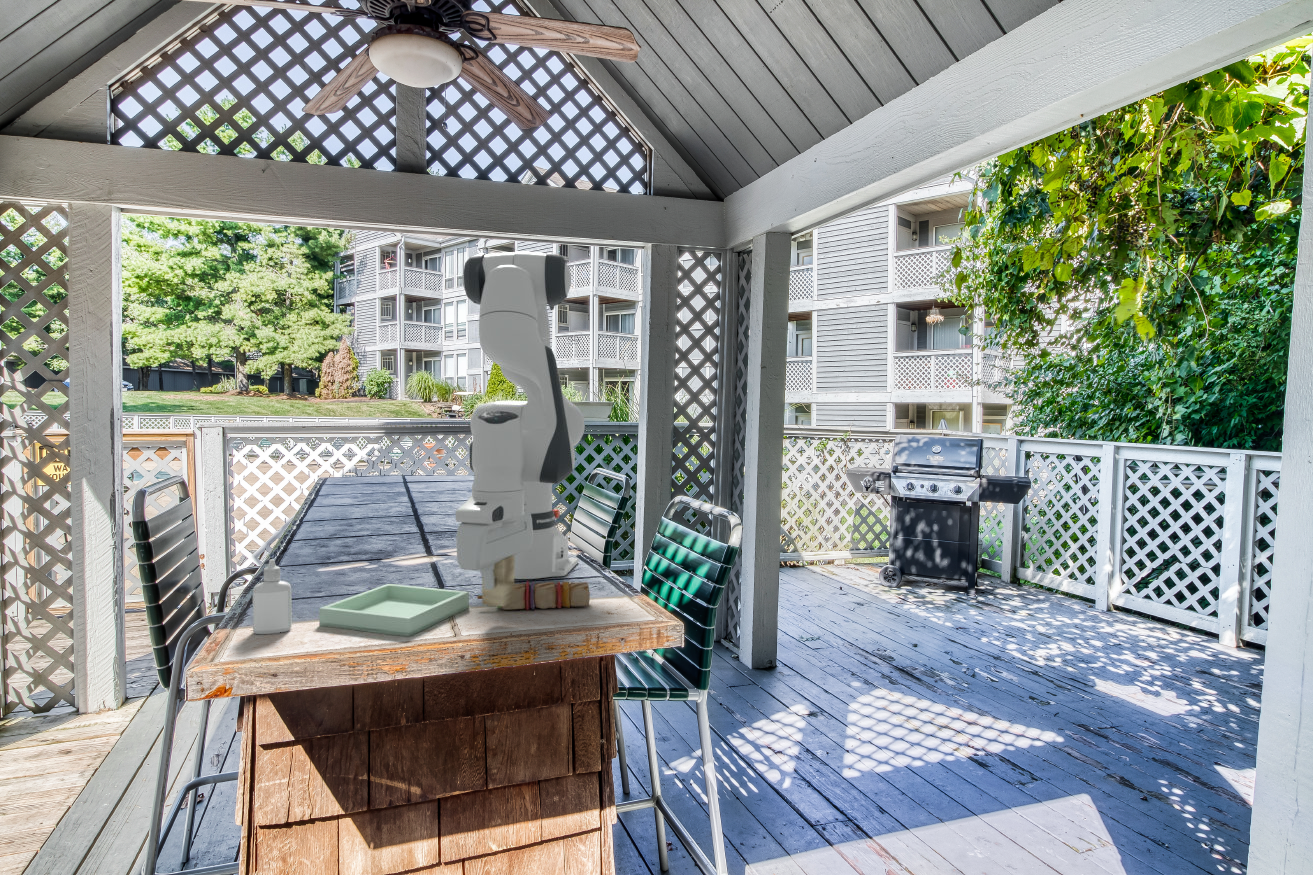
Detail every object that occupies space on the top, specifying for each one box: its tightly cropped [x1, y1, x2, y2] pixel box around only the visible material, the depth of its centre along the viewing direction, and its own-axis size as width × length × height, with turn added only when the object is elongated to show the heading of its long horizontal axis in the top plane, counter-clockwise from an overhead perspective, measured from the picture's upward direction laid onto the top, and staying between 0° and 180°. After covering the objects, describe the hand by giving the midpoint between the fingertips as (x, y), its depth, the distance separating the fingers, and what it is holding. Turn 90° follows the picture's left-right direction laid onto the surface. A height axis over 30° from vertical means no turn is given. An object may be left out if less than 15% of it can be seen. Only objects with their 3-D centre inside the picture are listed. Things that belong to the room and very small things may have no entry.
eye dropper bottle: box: [252, 559, 293, 635], centre depth 120 cm, size 4×6×12 cm
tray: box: [318, 583, 470, 638], centre depth 129 cm, size 18×18×3 cm
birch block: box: [481, 555, 515, 607], centre depth 126 cm, size 4×4×8 cm
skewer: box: [477, 580, 591, 610], centre depth 136 cm, size 21×6×5 cm, turn 99°
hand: (498, 584), depth 126 cm, fingers closed on birch block, 4 cm apart
